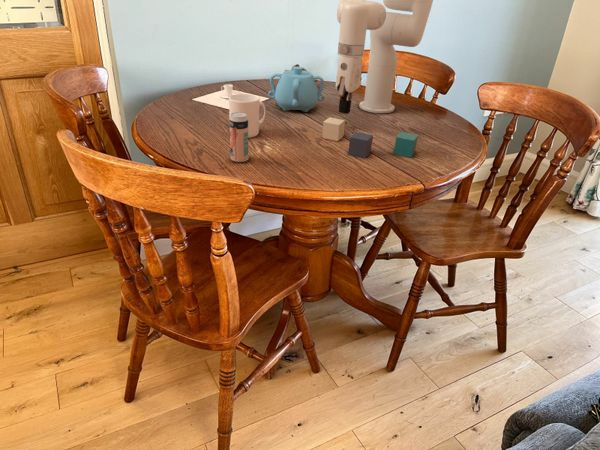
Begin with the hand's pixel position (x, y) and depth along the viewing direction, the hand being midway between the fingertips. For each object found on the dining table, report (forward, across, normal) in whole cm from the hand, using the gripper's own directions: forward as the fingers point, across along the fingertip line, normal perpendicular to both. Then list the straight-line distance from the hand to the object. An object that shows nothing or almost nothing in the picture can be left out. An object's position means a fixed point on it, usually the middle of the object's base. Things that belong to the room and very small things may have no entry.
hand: (344, 112), depth 142 cm
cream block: (+5, -8, 0) cm, 10 cm away
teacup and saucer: (+5, +8, +46) cm, 47 cm away
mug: (+6, -18, +23) cm, 30 cm away
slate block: (+6, -16, -11) cm, 21 cm away
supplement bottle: (+6, -38, +15) cm, 41 cm away
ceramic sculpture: (+5, +40, +34) cm, 52 cm away
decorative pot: (+5, +12, +22) cm, 26 cm away
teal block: (+5, -10, -22) cm, 25 cm away
